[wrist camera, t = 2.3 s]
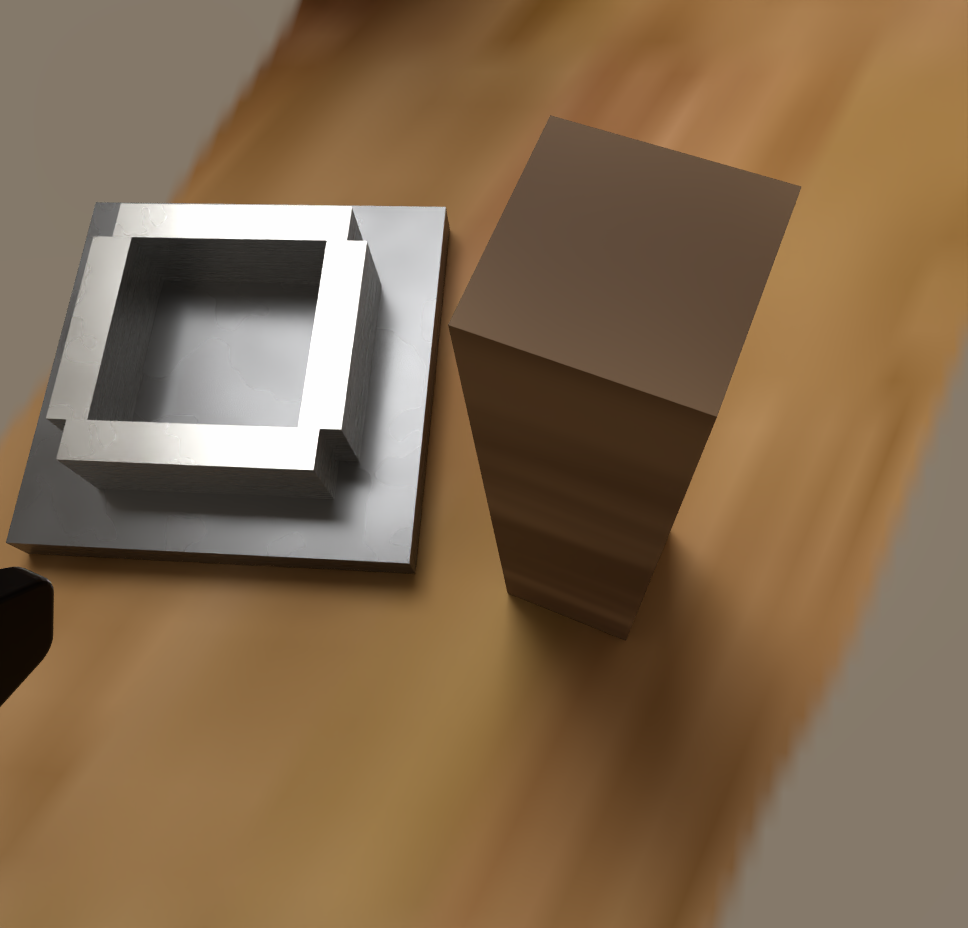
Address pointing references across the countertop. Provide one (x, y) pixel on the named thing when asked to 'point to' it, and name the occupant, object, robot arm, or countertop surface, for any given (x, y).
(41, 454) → the square frame on plate
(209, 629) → the countertop surface
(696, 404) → the walnut stick
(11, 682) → the robot arm
